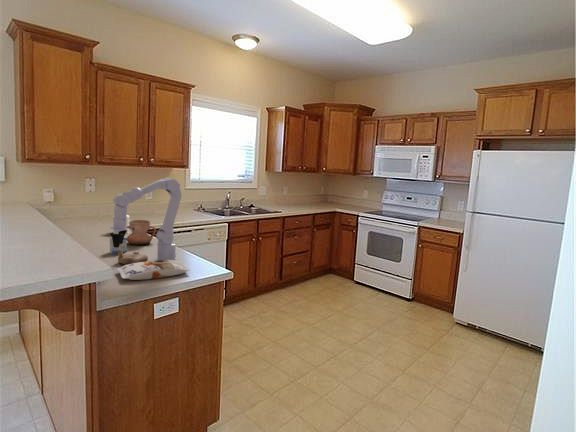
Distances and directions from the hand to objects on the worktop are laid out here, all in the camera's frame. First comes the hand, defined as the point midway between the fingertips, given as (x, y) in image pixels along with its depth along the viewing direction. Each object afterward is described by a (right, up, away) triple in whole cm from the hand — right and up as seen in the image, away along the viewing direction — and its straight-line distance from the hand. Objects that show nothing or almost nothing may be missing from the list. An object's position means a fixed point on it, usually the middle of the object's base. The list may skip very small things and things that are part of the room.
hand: (118, 245), depth 175 cm
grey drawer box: (+2, -8, +16) cm, 18 cm away
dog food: (+20, -13, -7) cm, 25 cm away
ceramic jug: (-8, -3, +46) cm, 47 cm away
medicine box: (-11, -6, +24) cm, 27 cm away
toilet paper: (-32, +3, +71) cm, 78 cm away
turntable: (+4, -8, +7) cm, 12 cm away
